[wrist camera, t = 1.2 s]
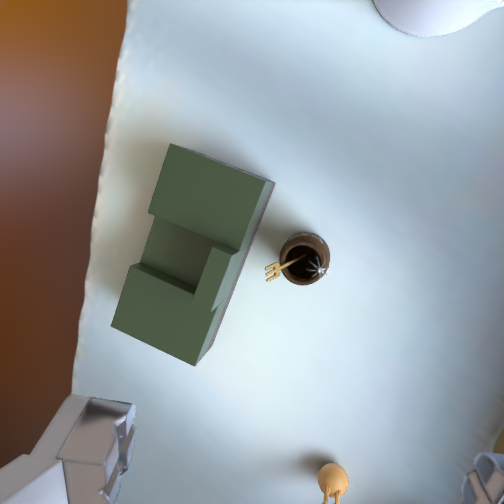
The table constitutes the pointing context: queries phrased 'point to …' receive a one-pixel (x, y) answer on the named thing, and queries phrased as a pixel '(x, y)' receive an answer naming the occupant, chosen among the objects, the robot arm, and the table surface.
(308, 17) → the table surface
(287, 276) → the utensil holder
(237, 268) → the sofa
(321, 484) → the figurine
